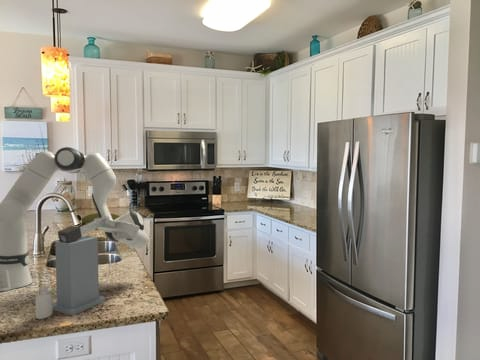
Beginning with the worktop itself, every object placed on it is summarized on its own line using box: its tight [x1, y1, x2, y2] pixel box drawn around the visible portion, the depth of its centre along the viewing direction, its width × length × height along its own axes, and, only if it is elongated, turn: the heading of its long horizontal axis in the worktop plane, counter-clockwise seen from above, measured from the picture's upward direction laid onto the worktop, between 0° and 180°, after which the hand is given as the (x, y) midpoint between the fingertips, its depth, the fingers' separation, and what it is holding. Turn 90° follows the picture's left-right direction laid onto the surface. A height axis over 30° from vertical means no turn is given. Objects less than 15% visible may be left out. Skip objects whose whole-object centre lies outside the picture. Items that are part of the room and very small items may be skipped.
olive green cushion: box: [80, 212, 120, 227], centre depth 314 cm, size 35×31×10 cm
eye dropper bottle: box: [35, 283, 54, 320], centre depth 141 cm, size 4×6×12 cm
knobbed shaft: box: [57, 216, 110, 243], centre depth 154 cm, size 22×5×4 cm, turn 153°
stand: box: [52, 234, 106, 316], centre depth 151 cm, size 16×12×26 cm
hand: (101, 219), depth 161 cm, fingers closed on knobbed shaft, 2 cm apart
